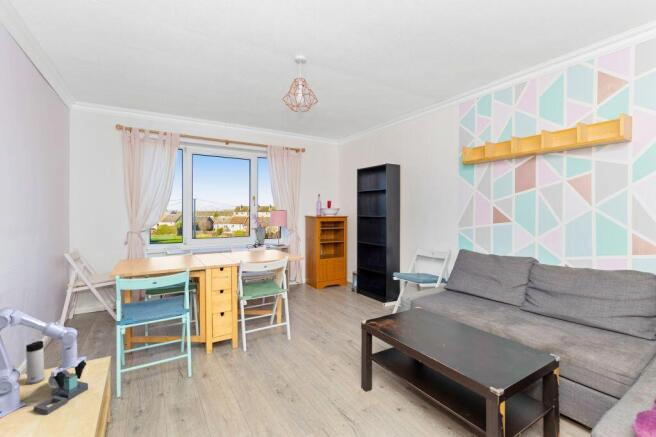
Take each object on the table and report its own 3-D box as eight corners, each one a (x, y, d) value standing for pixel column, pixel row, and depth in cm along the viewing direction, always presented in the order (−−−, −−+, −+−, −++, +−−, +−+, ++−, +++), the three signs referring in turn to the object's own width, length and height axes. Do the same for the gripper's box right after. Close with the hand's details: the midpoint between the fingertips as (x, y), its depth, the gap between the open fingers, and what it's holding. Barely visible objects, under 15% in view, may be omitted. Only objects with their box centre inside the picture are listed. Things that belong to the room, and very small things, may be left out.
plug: (69, 396, 143) (69, 377, 143) (63, 394, 144) (63, 376, 143) (77, 391, 147) (77, 373, 146) (71, 390, 147) (71, 372, 147)
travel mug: (34, 385, 150) (33, 346, 149) (23, 383, 152) (22, 344, 150) (48, 378, 156) (47, 340, 155) (38, 376, 158) (36, 339, 156)
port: (68, 400, 140) (68, 394, 140) (51, 396, 142) (51, 390, 142) (87, 389, 148) (87, 382, 148) (72, 385, 151) (72, 379, 151)
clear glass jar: (44, 380, 149) (43, 381, 141) (60, 365, 154) (60, 366, 147) (58, 389, 151) (58, 391, 143) (73, 374, 156) (74, 375, 149)
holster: (47, 414, 131) (47, 410, 131) (34, 411, 133) (33, 406, 133) (67, 402, 139) (67, 398, 138) (54, 399, 140) (54, 395, 140)
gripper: (59, 364, 136) (59, 393, 137) (91, 349, 150) (91, 375, 151) (47, 361, 138) (47, 390, 139) (80, 347, 152) (80, 373, 153)
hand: (69, 382), depth 145 cm, fingers open, 7 cm apart
